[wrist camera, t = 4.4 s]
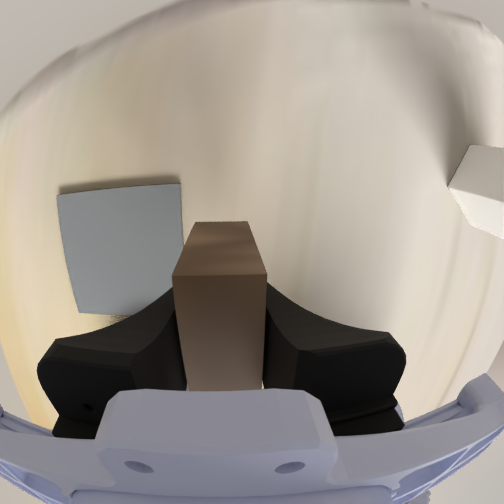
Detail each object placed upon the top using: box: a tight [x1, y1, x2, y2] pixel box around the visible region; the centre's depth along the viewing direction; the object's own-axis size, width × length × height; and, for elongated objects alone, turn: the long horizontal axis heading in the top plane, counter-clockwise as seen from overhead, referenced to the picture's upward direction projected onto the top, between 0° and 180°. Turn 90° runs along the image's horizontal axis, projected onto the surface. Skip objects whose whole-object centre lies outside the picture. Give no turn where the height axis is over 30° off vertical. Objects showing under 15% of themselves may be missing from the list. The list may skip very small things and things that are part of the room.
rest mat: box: [57, 183, 184, 316], centre depth 19 cm, size 10×10×1 cm
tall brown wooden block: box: [172, 221, 267, 391], centre depth 11 cm, size 2×6×6 cm, turn 179°
